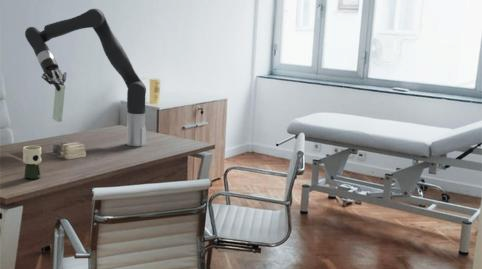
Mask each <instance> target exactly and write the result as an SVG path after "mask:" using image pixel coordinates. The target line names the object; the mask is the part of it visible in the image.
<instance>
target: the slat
mask: <svg viewBox="0 0 482 269" xmlns="http://www.w3.org/2000/svg"><path fill="white" fill-rule="evenodd" d="M59 85H60V88H61V89H60V91H58V90H56V88H55V87H54V88H55V89H54V97H53V98H54V99H53V107H52V108H53V109H52V110H53V112H52V120H54V121H56V122H58V123H60V122H63V115H64V114H63V113H64V112H63V111H64V101H65V91H66V85H64V86H62V85H61V84H59Z"/></svg>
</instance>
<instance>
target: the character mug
mask: <svg viewBox="0 0 482 269" xmlns="http://www.w3.org/2000/svg"><path fill="white" fill-rule="evenodd" d="M22 162H23V163H24V164H25V168H24V178H28V179H30V180H31V179H32V180H35V179H39V178H41V169H40V165H39V164H40V163H42V147H41V145H27V146H23V148H22Z"/></svg>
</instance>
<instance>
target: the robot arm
mask: <svg viewBox="0 0 482 269" xmlns="http://www.w3.org/2000/svg"><path fill="white" fill-rule="evenodd" d="M87 28H89V29H90V28H91V29H93V31H94V32H95V34H96V35H97V37H98V38H99V40H100V44H101V46H102V50H103V52H104V53H105V56H106V58H107V59H108V61H109V63H110V65H111V66H112V67H113V69H115V71H116V72H117V73H118V74H119V75H120V76H121V78H122V79H123V82H124V83H125V86H126V88H127V90H126V91H127V92H126V96H127V97H126V108H127V109H126V111H127V112H126V113H127V114H126V116H127V118H126V145H127V146H128V147H129V146H130V147H143V146H145V145H146V144H147V143H146V142H147V141H146V139H147V138H146V137H147V126H146V93H147V87H146V85H145V83H144V82H143V81H142V80H141V79H140V77H139V76H138V74H137V73H136V71H135V69H134V68H133V65H132V63H131V61H130V59H129V57H128V55H127V53H126V52H125V49H124V48H123V46H122V45H121V42H119V40H118V38H117V37H116V35H115V33H113V31H112V30H111V27H110V25H109V23H108V20H107V18H106V16H105V14H104V13H103V11H102V10H100V9H99V8H90V9H88V10H87V11H85V12H83V13H81V14H79V15H77V16H74V17H71V18H68V19H67V18H66V19H64V20H59V21H54V22H52V23H48V24H46V25H44V27H43V30H42V31H40V30H39V29H38V28H36V27H34V26H29V27H27V28H26V30H25V32H24V36H25V38H26V41H27V42H28V43H29V45H30V47H31V48H32V50H33V52H34V54H35V56H36V59H37V61H38V63H39V65H40V67H41V70H42V72H43V73H42V75H41V78H42V79H43V80H44V81H45V82H46V83H48V84H49V85H53V86H54V88H56V90H58V91H60V89H61V88H60V85H59V84H61V85H62V86H65V82H66V80H67V71H66V72H62V70H61V69H60V68H59V65H58V63H57V61H56V59H55V57H54V55H53V54H52V52H51V50H50V48H49V46H48V44H47V42H48V41H50V40H52V39H54V38H59V37H62V36H65V35H67V34H70V33H72V32H75V31H78V30H82V29H87Z"/></svg>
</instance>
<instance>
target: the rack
mask: <svg viewBox="0 0 482 269" xmlns="http://www.w3.org/2000/svg"><path fill="white" fill-rule="evenodd" d="M45 153H47V154H49V155H53V156H54V157H58V158H61V159H64V160H66V161H67V160H74V159H80V158H86V157H88V155H87V152H86V147H85V144H83V143H80V142H78V141H77V142H76V141H75V142H69V143H67V142H64V141H62V142H60V144H59V143H52V150H49V151H45Z"/></svg>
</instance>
